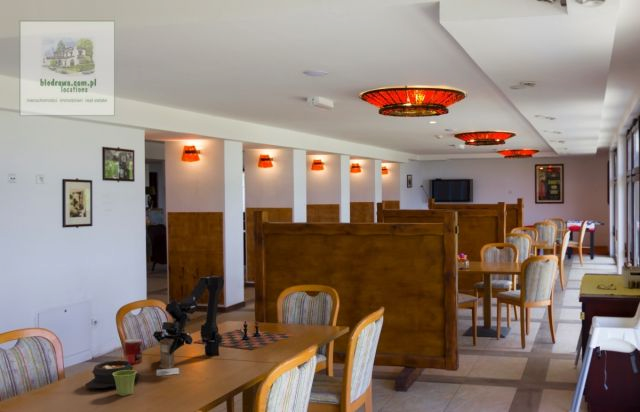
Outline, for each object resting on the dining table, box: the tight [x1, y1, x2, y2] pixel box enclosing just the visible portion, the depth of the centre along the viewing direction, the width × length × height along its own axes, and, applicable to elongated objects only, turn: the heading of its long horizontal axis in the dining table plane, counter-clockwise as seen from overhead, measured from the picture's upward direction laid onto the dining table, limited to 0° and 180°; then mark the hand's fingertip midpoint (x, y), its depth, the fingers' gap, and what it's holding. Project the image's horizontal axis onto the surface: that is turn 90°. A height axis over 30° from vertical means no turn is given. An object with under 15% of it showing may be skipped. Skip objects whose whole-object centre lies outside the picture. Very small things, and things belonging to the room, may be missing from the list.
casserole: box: [84, 360, 140, 389], centre depth 293 cm, size 25×19×8 cm
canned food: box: [124, 337, 143, 365], centre depth 329 cm, size 8×8×11 cm
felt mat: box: [155, 367, 180, 377], centre depth 310 cm, size 10×10×1 cm
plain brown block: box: [159, 339, 175, 369], centre depth 310 cm, size 4×4×12 cm
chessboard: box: [193, 320, 295, 351], centre depth 376 cm, size 40×40×11 cm
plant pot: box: [113, 369, 138, 397], centre depth 278 cm, size 9×9×9 cm
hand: (165, 353), depth 308 cm, fingers closed on plain brown block, 4 cm apart
